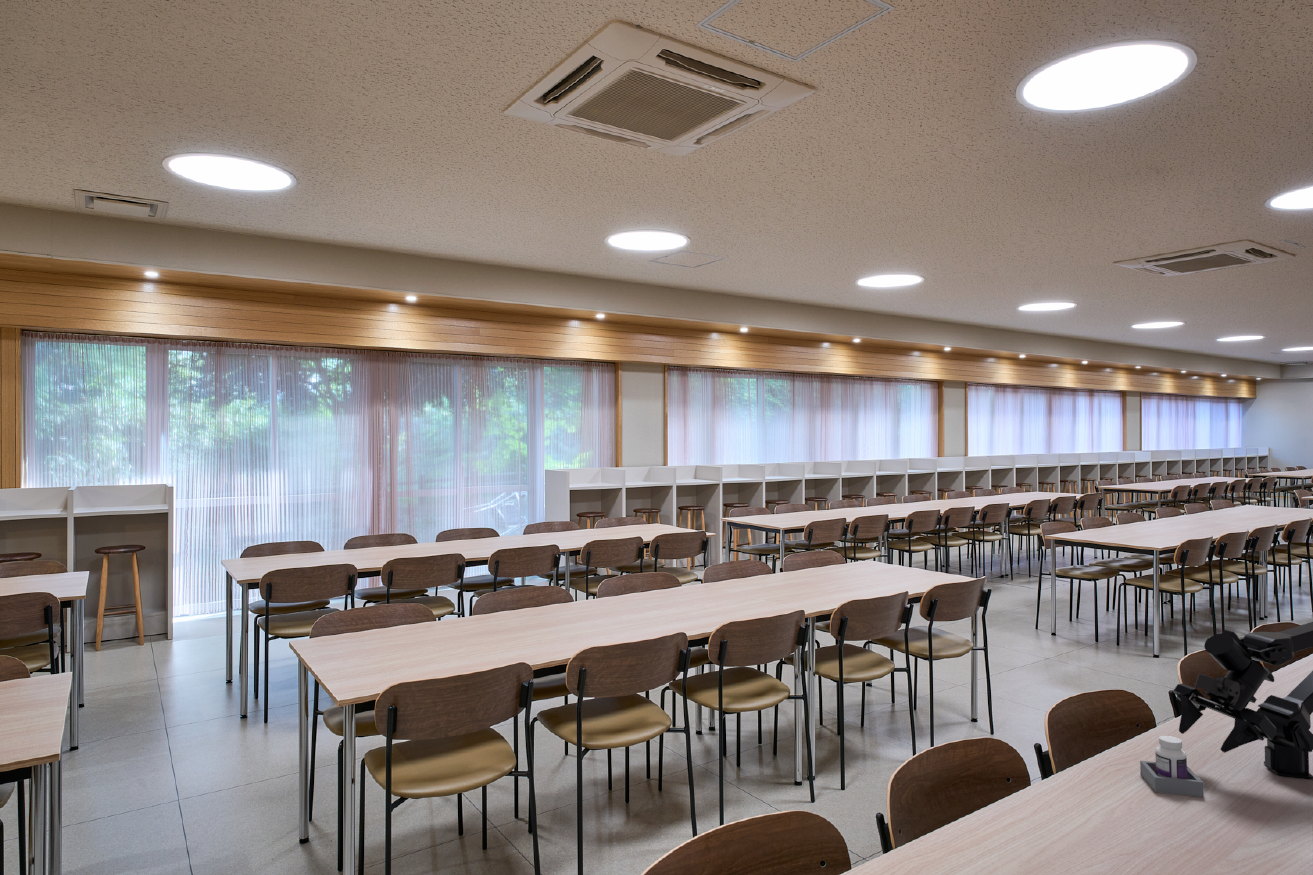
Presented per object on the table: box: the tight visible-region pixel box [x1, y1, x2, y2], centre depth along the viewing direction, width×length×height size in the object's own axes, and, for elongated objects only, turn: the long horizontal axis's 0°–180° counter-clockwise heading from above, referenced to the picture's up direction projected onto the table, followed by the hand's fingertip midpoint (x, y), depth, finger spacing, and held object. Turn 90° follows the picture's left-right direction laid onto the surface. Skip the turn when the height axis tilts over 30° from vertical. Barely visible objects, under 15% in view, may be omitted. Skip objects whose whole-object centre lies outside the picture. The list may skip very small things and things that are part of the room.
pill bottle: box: [1154, 735, 1188, 779], centre depth 155 cm, size 5×5×10 cm
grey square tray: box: [1139, 760, 1205, 798], centre depth 155 cm, size 9×9×3 cm
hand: (1200, 741), depth 157 cm, fingers open, 9 cm apart
